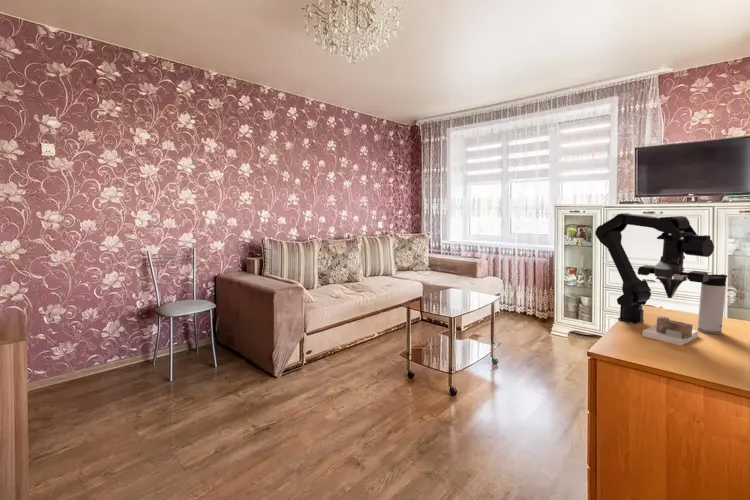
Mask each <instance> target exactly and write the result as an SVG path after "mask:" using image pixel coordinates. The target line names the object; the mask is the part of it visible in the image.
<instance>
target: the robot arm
mask: <svg viewBox="0 0 750 500" xmlns="http://www.w3.org/2000/svg"><path fill="white" fill-rule="evenodd" d="M690 223H691V222H690V220H689V219H688V218H687V216H684V215H683V216H682V215H679V216H677V215H675V216H661V217H659V216H649V215H641V214H632V213H628V212H627V213H624V212H623V213H622V212H621V213H617V214H616V215H615V216H613V217H612V218H611V219H609V220H607V221H606V222H603V224H600V225H598V226H597V227H596V229H595V232H594V233H595V236H596V238H597V240H598V241H599V242H600V243H601V244H602V245H603V246H604V247H606V248H607V250H608V252H609V254H610V257H611V258H612V261H613V263H614V265H615V267H616V269H617V271H618V274H619V276H620V278H621V280H622V286H621V287H622V288H621V290H622V295H620V296H618V298H616V301H617V305H619V306H620V307H619V308H620V311H619V317H618V318H617V320H618V321H622V322H628V323H631V324H639V323H641V322H644V320H645V319H644V311H645V310H644V309H643V306H645V305H646V304H647V301H649V300H650V298H651V296H652V289H651V288H650V286H649V283H648V281H647V280H645V279H644V280H641V279H640V278H639V277H638V276H640V275H641V276H648V275H650V274H652V275H653V274H654V276H655V279H656V280H659V281H660V282H661V284H662V286H663V288H664V291H665V293H666V296H667V298H668V299H672V298H673V296H674V295H675V293H676V291H677V290H678V288H679V287H680V285H681V284H682V283H684V282H686V281H690V282H692V283H693V282H694V283H700V284H701V283H703V282H706V281H708V280H709V275H710V274H709V273H708V272H707V271H701V270H692V271H689V272H688V271H687V272H685V267H684V260H685V258H686V256H694V257H703V258H709V257H711V256H712V254H713V253H714V250H715V245H714V242H713V240H712V238H711V235H708V234H707V235H698V234H697V232H696V231H695V230H694V228H693V227H692V226H691V224H690ZM628 225H631V226H637V227H645V228H652V229H655V230H656V231H657V232H662V233H661V234H659V236H657V237H656V239H657V240H663V245H662V255H661V256H660V260H659V262H658V263H657V264H656V265H649V264H648V265H647V264H645V265H641V266H639V267H638V268H637V273H636V272H635V269H634V268H633V266H632V263H631V261H630V259H629V257H628V255H627V252H626V251H625V249H624V247H623V244H622V238H623V235H622V232H623V231H625V229H626V227H627V226H628ZM685 255H686V256H685ZM637 275H638V276H637ZM620 319H621V320H620Z"/></svg>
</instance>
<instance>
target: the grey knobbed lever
mask: <svg viewBox="0 0 750 500" xmlns="http://www.w3.org/2000/svg"><path fill="white" fill-rule="evenodd" d="M656 324H657V327H656V331H658V332H662V333H666V329H670V330H674V331H679V332H682V338H686V339H688V338H690V337H692V329H693V324H690V323H688V322H682V321H677V320H672V319H670V318H669V317H667V316H661V315H660V316H657V317H656Z"/></svg>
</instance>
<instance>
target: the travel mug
mask: <svg viewBox="0 0 750 500" xmlns="http://www.w3.org/2000/svg"><path fill="white" fill-rule="evenodd" d="M727 278H728V275H727V274H709V280H708V281H706V282H703V283H700V284H701V286H700V295H699V297H700V298H699V307H698V318H697V320H698V321H697V331H698V332H701V333H705V334H708V335H720V334H722V331H723V330H722V329H723V322H724V321H723V319H724V310H725V309H724V308H725V298H726V297H725V296H726V285H727Z"/></svg>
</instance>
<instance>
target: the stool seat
mask: <svg viewBox="0 0 750 500" xmlns="http://www.w3.org/2000/svg"><path fill="white" fill-rule="evenodd" d="M656 327H657V323H656V324H654V325H652V326H650V327H647V328H645V329H643V330H642V335H641V336H642V337H645V338H649V339H654V340H657V341H661V342H665V343H669V344H674V345H677V346H684V345H686V344H687V343H689V342H691V341H693V340H695V339H696V338H698V337H699V330H698V329H697V330H696V329H693V328H692V337H690V338H688V339H686V338H682V332H679V331H674V330H670V329H666V333H662V332H658V331H656Z"/></svg>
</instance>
